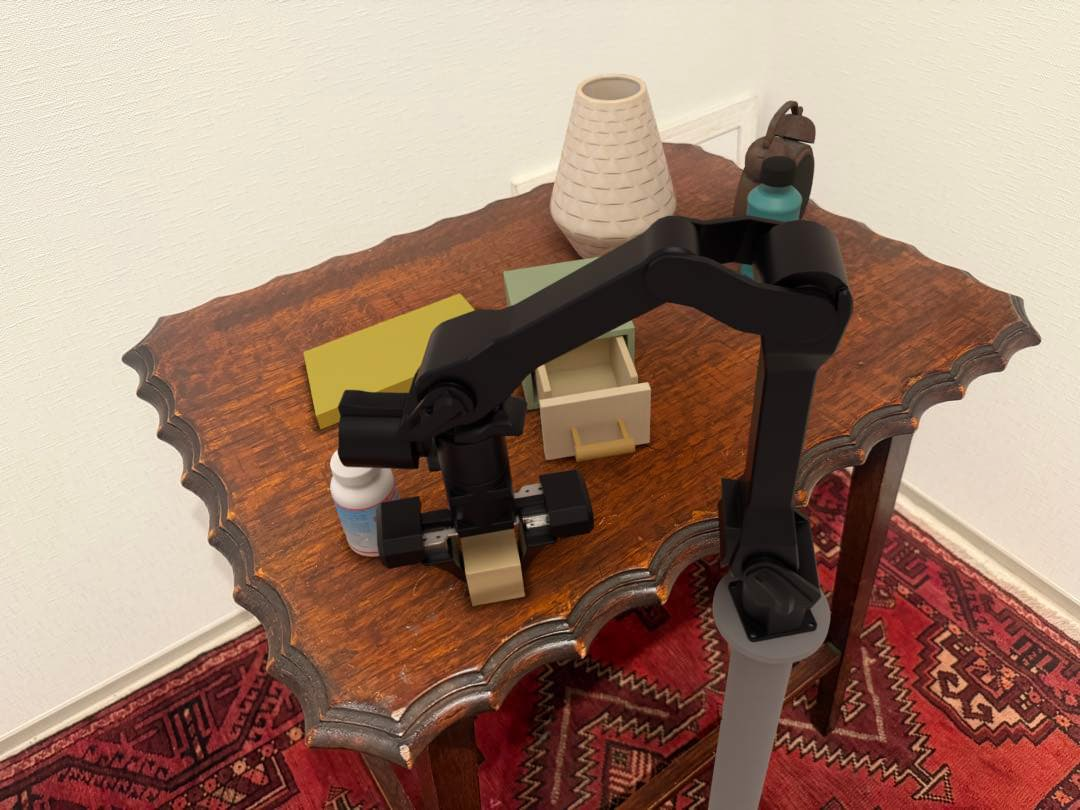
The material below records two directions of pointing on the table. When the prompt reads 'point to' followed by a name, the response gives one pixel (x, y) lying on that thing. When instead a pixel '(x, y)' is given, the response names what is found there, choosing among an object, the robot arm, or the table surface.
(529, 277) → the cabinet
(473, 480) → the robot arm
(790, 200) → the beverage bottle
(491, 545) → the block
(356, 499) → the pill bottle
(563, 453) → the drawer
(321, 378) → the flat olive board
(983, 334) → the table surface
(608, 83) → the vase
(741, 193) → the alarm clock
